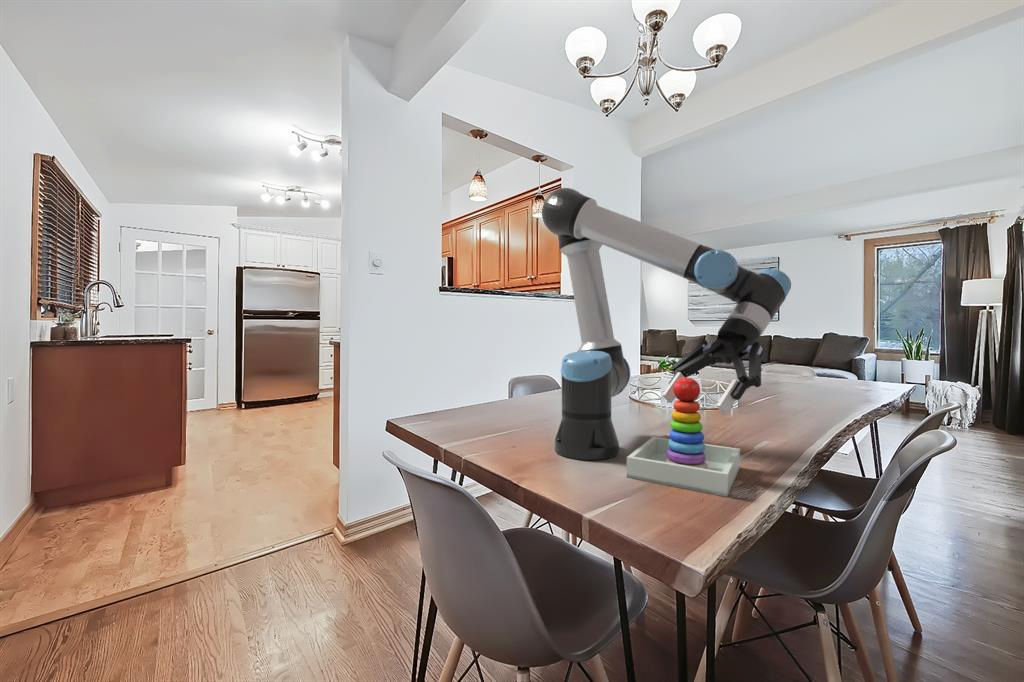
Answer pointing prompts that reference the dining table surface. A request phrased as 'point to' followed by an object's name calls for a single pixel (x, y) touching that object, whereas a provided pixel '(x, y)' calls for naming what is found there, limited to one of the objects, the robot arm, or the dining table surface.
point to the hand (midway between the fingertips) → (692, 404)
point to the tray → (685, 468)
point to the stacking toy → (686, 427)
